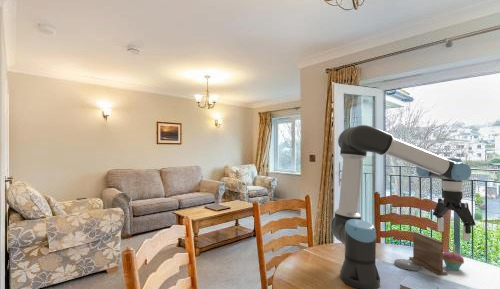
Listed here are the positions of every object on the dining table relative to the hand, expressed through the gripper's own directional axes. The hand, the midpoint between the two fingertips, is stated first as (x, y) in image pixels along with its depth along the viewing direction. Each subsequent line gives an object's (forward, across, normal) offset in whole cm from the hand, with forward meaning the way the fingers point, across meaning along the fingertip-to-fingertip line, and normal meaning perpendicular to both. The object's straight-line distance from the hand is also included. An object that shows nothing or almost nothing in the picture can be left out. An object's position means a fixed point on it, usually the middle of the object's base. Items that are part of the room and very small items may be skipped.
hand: (452, 235), depth 122 cm
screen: (+15, +2, +12) cm, 19 cm away
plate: (+15, +3, +20) cm, 25 cm away
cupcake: (+15, 0, 0) cm, 15 cm away
